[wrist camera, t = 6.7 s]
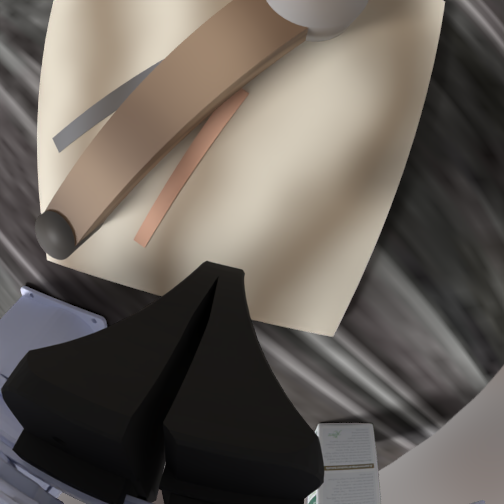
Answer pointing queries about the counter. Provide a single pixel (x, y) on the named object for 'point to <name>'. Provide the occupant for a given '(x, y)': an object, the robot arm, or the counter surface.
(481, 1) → the counter surface
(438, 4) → the board
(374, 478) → the syrup box
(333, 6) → the lever
